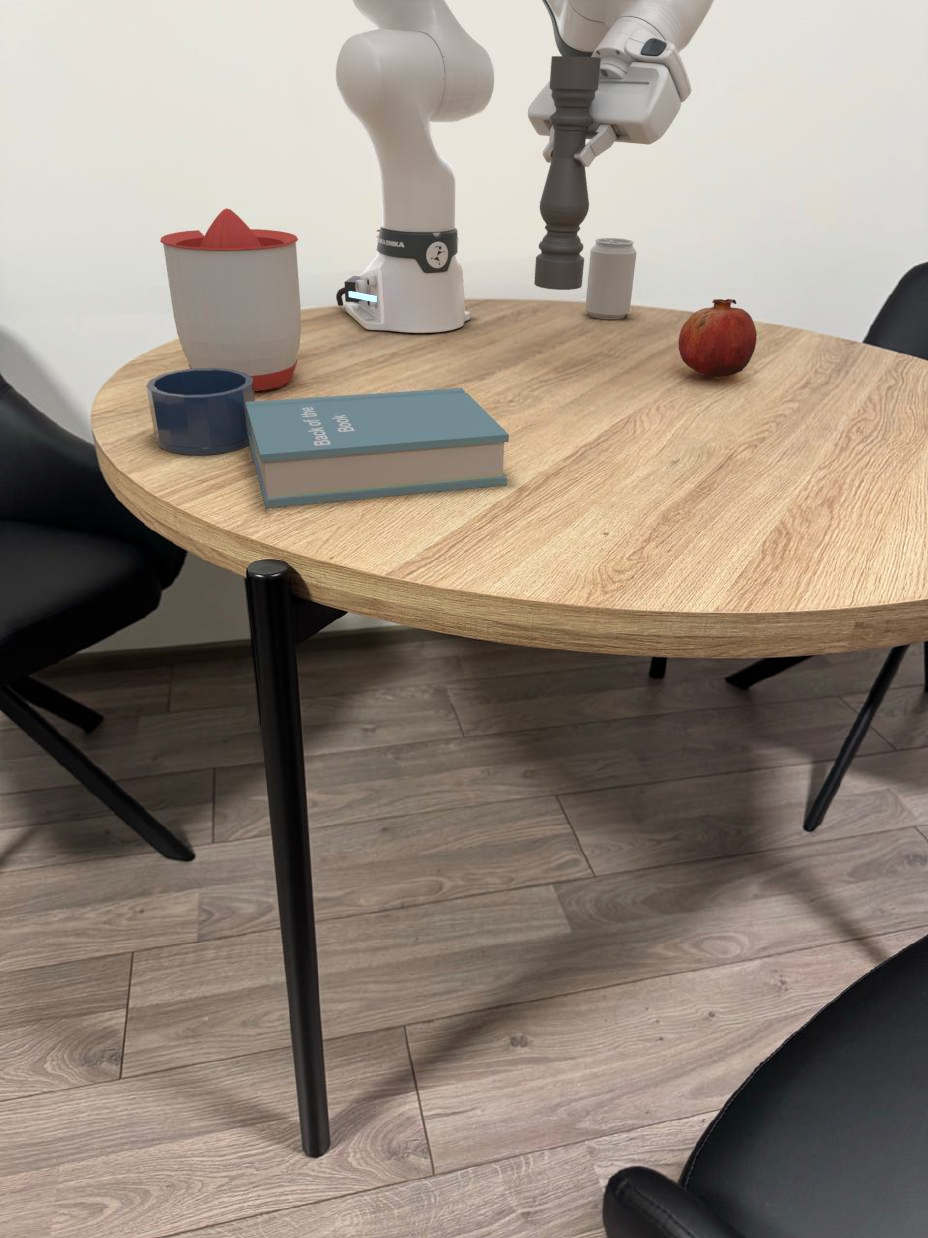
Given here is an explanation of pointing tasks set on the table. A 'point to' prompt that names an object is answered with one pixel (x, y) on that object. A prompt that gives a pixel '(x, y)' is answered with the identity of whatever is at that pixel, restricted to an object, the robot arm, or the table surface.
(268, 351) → the citrus juicer
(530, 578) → the table surface
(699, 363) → the fruit
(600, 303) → the can
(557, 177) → the candle holder
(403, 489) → the book
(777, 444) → the table surface
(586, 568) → the table surface
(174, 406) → the socket cup
